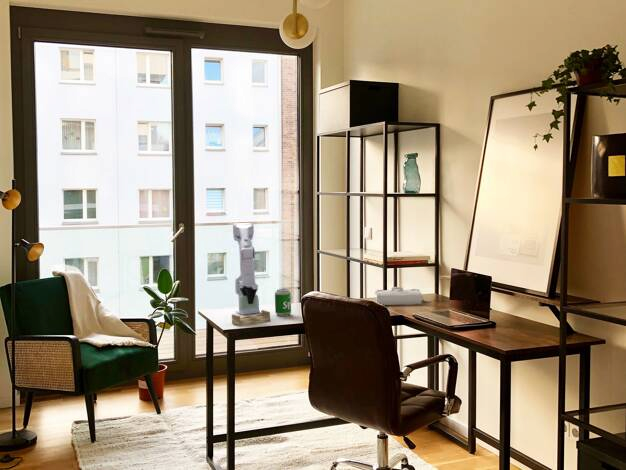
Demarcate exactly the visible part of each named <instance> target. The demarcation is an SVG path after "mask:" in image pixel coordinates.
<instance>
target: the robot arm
mask: <svg viewBox="0 0 626 470" xmlns="http://www.w3.org/2000/svg"><path fill="white" fill-rule="evenodd" d="M254 229H255V227H254V223H253V222H242V223H241V222H237V223H235V222H234V223H233V224H232V234H233V240H234V241H236V242H237V243H238V246H239V247H238V248H239V251H238V252H239V268H240V269H239V271H240V275H238V276H237V277H236V278H235V282H234V287H235V294H236V295H237V296H238V298H239V296H247V298H248V304H253V302H254V297H255V295H257V304H258V308H254V309H247V310H240V305H239V304H238V311H235V313H237V314H240V315H250V314H255V313H256V314H258V313H261V310H260V301H259V300H260V299H259V296H258V294H257V292H258V289H259V284H258V283H257V282H256V277H255V258H256V252H255V247H254V246H253V242H252V240H253V238H254V235H255V234H254V232H255V230H254Z"/></svg>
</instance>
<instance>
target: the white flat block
mask: <svg viewBox="0 0 626 470" xmlns="http://www.w3.org/2000/svg"><path fill="white" fill-rule="evenodd" d="M374 295H376V297H375V302H376V301H377V302H376V304H377V303H379V304H382V305H383V306H386V305H393V306H422V303H423V301H424V302H427V303H428V302H431V299H429V300H426V299H424V296H423V295H422V292H421V291H420V288H411V289H404V288H403V287H402V286H394V287H391V289H386V290H385V289H375V293H374Z"/></svg>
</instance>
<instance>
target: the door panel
mask: <svg viewBox="0 0 626 470" xmlns="http://www.w3.org/2000/svg"><path fill="white" fill-rule="evenodd" d="M257 296H258V294H257V295H255V297H254V302H253V304H248V298H247V296H239V297H238V306H239V305H240V310H247V309H254V308H258V304H257Z"/></svg>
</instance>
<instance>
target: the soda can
mask: <svg viewBox="0 0 626 470" xmlns="http://www.w3.org/2000/svg"><path fill="white" fill-rule="evenodd" d="M291 295H292V293H291V291H290V290H289V289H285V288H281V289H279V288H278V289H277V290H275V291H274V305H275V306H274V307H275V308H274V309H275V310H274V311H275V312H274V313H275V314H276V315H277V316H278V317H287V316H290V314H291V313H292V297H291Z"/></svg>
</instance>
